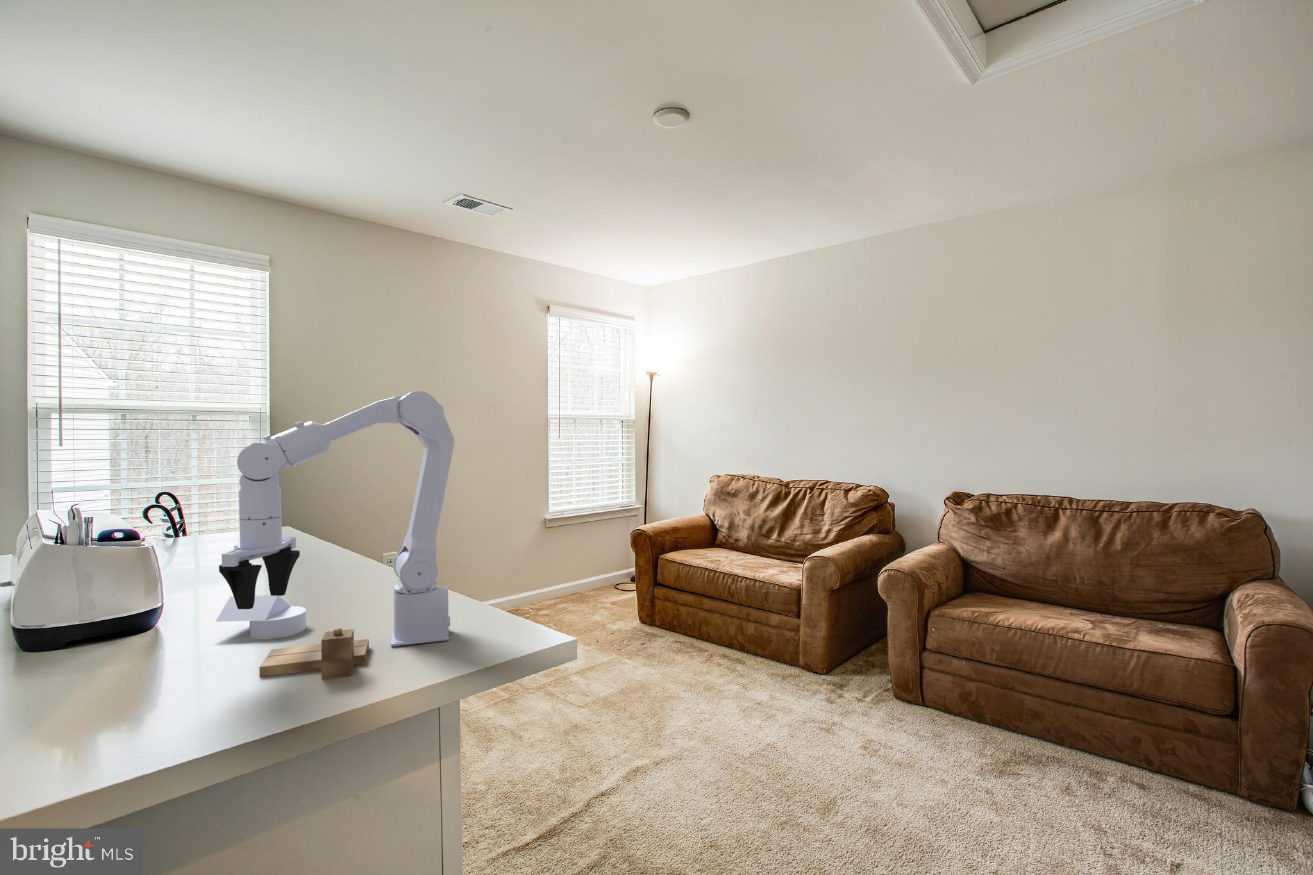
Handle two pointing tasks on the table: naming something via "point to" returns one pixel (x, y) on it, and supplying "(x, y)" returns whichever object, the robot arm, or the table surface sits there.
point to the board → (304, 658)
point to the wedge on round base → (267, 617)
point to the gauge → (337, 653)
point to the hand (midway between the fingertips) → (262, 601)
